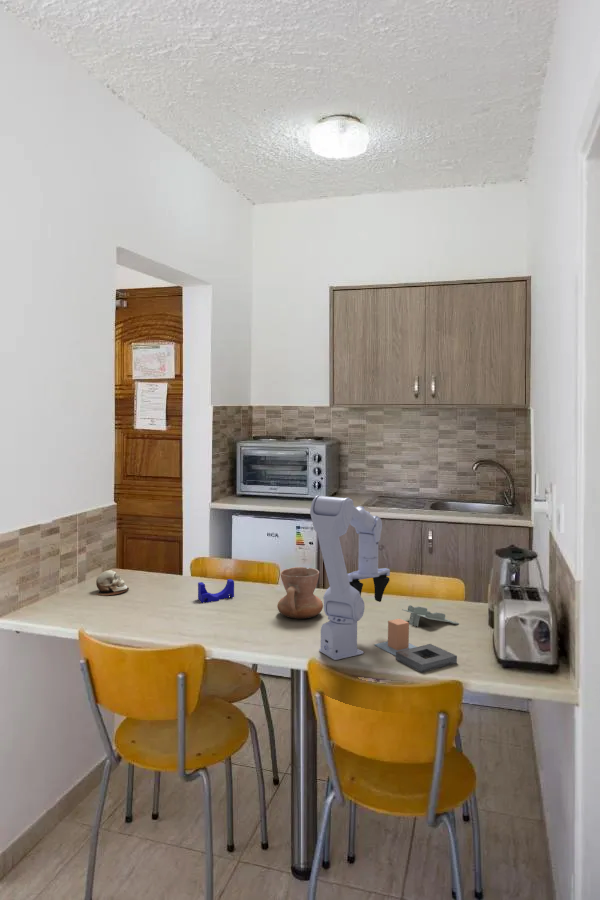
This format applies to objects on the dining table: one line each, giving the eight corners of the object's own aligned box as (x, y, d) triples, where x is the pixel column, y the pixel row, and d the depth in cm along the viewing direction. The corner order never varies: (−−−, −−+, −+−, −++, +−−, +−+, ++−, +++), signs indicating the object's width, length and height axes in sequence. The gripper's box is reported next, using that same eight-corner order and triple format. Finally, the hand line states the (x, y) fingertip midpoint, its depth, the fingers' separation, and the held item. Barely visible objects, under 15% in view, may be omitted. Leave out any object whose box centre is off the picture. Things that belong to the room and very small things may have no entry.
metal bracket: (433, 613, 193) (396, 601, 205) (429, 633, 192) (392, 620, 204) (462, 618, 201) (425, 606, 213) (459, 637, 201) (422, 624, 213)
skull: (132, 583, 241) (129, 567, 233) (127, 608, 233) (123, 592, 226) (99, 582, 240) (95, 566, 233) (93, 607, 233) (88, 591, 226)
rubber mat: (395, 655, 174) (395, 654, 174) (374, 645, 182) (374, 644, 182) (421, 649, 179) (421, 648, 179) (399, 639, 186) (399, 638, 186)
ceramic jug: (289, 605, 219) (289, 563, 218) (330, 609, 213) (330, 567, 212) (266, 621, 202) (266, 576, 201) (310, 627, 197) (310, 581, 195)
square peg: (397, 650, 177) (397, 625, 177) (387, 645, 180) (388, 620, 180) (408, 647, 179) (409, 622, 179) (399, 643, 183) (399, 618, 182)
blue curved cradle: (201, 603, 220) (201, 585, 220) (198, 599, 224) (198, 582, 224) (235, 599, 226) (235, 582, 225) (231, 595, 230) (231, 579, 229)
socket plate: (421, 672, 163) (421, 664, 163) (395, 659, 171) (395, 651, 171) (456, 663, 169) (456, 655, 169) (430, 651, 178) (430, 643, 177)
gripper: (356, 562, 182) (355, 610, 182) (396, 556, 189) (396, 602, 190) (341, 557, 188) (341, 603, 188) (381, 551, 195) (380, 596, 196)
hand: (367, 602), depth 190 cm, fingers open, 7 cm apart
